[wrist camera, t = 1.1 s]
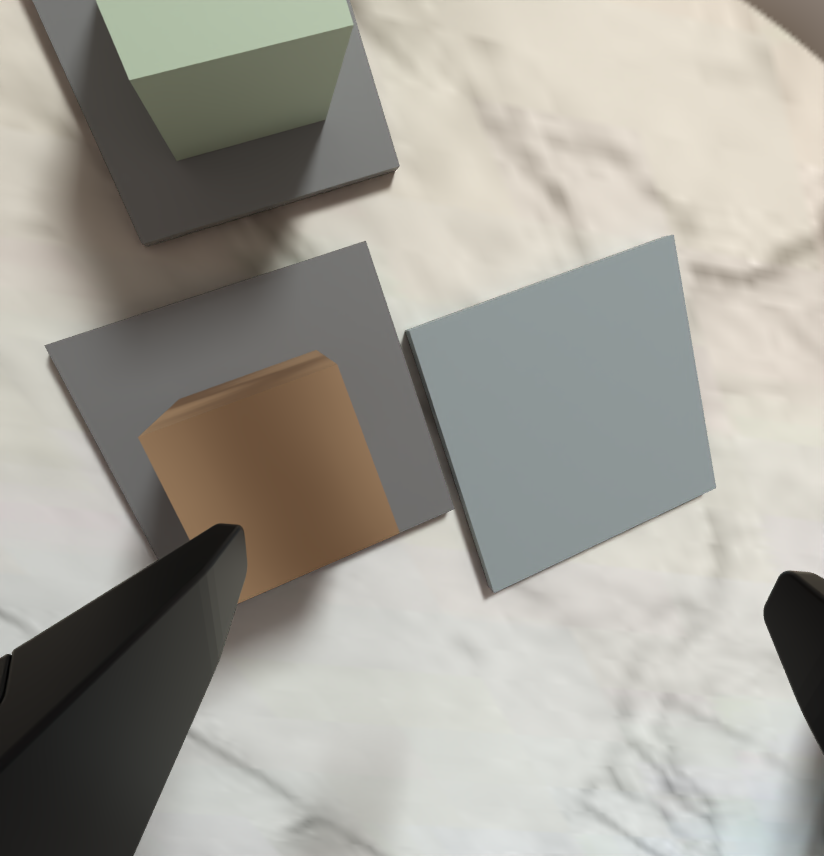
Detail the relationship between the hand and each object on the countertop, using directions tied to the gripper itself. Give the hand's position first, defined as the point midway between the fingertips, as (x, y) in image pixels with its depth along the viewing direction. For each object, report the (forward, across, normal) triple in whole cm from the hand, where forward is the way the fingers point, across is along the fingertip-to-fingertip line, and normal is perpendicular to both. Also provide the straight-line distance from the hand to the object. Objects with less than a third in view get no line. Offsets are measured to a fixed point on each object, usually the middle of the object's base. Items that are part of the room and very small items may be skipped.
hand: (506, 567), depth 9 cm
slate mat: (+14, -5, +3) cm, 15 cm away
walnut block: (+10, +7, +3) cm, 12 cm away
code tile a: (+10, +7, +3) cm, 13 cm away
